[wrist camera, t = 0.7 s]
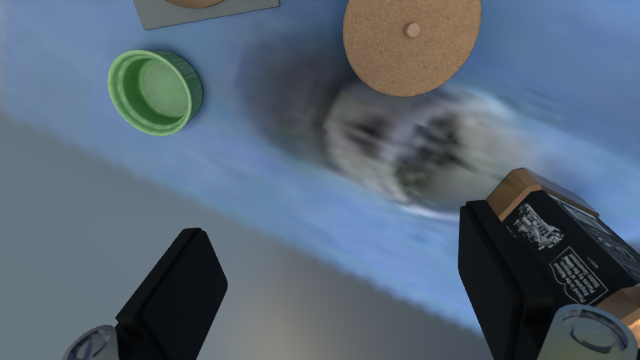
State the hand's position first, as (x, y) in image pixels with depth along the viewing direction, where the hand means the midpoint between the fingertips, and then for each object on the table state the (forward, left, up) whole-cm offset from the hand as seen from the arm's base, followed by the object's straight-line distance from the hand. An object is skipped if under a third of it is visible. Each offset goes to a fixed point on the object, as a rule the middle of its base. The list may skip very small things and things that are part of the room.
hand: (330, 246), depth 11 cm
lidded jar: (-6, +6, -27) cm, 28 cm away
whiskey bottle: (+18, +21, -27) cm, 39 cm away
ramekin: (-3, -20, -27) cm, 34 cm away
